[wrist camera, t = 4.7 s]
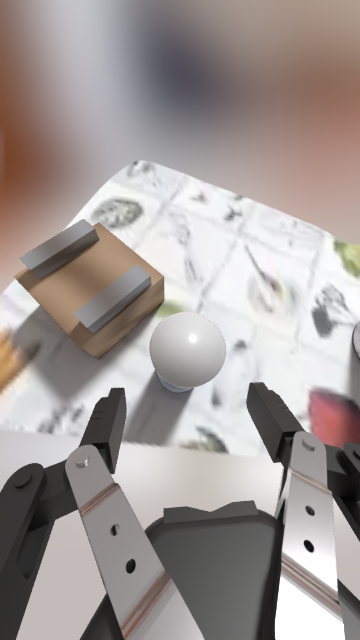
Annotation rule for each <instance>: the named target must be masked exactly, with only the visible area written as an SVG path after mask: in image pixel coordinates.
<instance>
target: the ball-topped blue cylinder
mask: <svg viewBox="0 0 360 640" xmlns="http://www.w3.org/2000/svg"><path fill="white" fill-rule="evenodd" d="M150 356H151V360H152V363H153V366H154V368H155V370H156V372H157V374H158V377H159V380H160V382H161V384H162V385H163V386H164V387H165V388H166V389H168V390H169V391H172V392H176V393H181V392H185V391H188V390H190V389H192V388H194V387H198V386H200V385H203V384H205V383H207V382H208V381H210V380H211V379H213V378H214V377H215V376H216V375H217V374H218V373H219V371H220V370H221V368H222V366H223V364H224V361H225V356H226V345H225V340H224V337H223V335H222V333H221V331H220V330H219V328H218V327H217V326H216V324H214V323H213V322H212V321H211V320H210V319H208V318H207V317H205V316H203V315H201V314H198V313H193V312H180V313H176V314H173V315H170V316H168V317H167V318H165V319H164V320H163V321H161V322H160V323H159V324H158V326H157V327H156V328H155V330H154V332H153V334H152V337H151V340H150Z"/></svg>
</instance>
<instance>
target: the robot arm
mask: <svg viewBox="0 0 360 640" xmlns="http://www.w3.org/2000/svg"><path fill="white" fill-rule="evenodd" d="M354 345H355V350H356V352H357V354H358V357H359V359H360V322H359V323H358V324H357V326H356V328H355V331H354ZM246 404H247V409H248V412H249V414H250V416H251V418H252V420H253V422H254V424H255V426H256V428H257V430H258V432H259V434H260V436H261V438H262V440H263V442H264V444H265V447H266V449H267V451H268V453H269V455H270V457H271V459H272V461H273V463H276V462H281V463H282V465H283V470H282V476H281V483H280V490H279V495H278V502H277V507H276V512H275V515H274V517H273V516H272V515H270V514H268V513H266V512H264V511H262V510H259V509H257V508H256V506H255V503H254V501H241V502H232V503H230V504H227V505H226V506H223V507H221V508H219V509H217V510H215V511H212V512H208V511H204V510H199V509H194V508H190V507H187V506H186V507H176V508H164V517H162V518H160V519H158V520H156V521H155V522H153V523H152V524H151V525H150V526H149V527H147V529H146V530H145V531H144V530H143V528H142V527H141V525H140V523H139V521H138V519H137V517H136V515H135V513H134V512H133V510H132V508H131V506H130V504H129V502H128V500H127V498H126V497H125V495H124V493H123V491H122V490H121V487H120V486H119V484H118V483H115V482H114V480H113V478H112V476H111V474H114V473H115V468H116V463H117V459H118V454H119V449H120V444H121V439H122V434H123V429H124V424H125V419H126V410H127V408H126V398H125V390H124V388H111V390H110V393H109V396H108V397H102V398H101V399H100V400H99V401H98V402H97V403H96V405H95V407H94V410H93V413H92V415H91V417H90V420H89V422H88V425H87V427H86V430H85V432H84V435H83V438H82V440H81V443H80V445H79V447H78V448H77V449H76V450H74V451H73V452H72V453H71V454H70V455H69V457H68V458H67V459H66V460H65V461H62V462H60V463H57V464H55V465H52V466H49V467H47V468H43V466H42V465H41V464H38V463H32V464H28V465H26V466H24V467H22V468H20V469H19V470H17V471H16V472H15V473H14V474H13V475H12V476H11V477H10V478H9V479H8V480H7V482H6V483H5V485H4V487H3V489H2V490H1V492H0V640H16V637H17V634H18V631H19V628H20V625H21V622H22V619H23V616H24V613H25V610H26V607H27V604H28V601H29V598H30V594H31V592H32V588H33V585H34V582H35V580H36V576H37V574H38V570H39V567H40V564H41V561H42V558H43V555H44V552H45V549H46V546H47V543H48V540H49V537H50V534H51V531H52V528H53V525H54V522H55V520H56V519H58V518H60V517H62V516H65V515H67V514H69V513H71V512H73V511H75V510H79V513H80V516H81V519H82V522H83V525H84V527H85V531H86V533H87V536H88V539H89V542H90V545H91V548H92V551H93V554H94V557H95V560H96V563H97V566H98V569H99V572H100V575H101V578H102V581H103V584H104V587H105V590H106V595H105V597H104V598H103V600H102V602H101V604H100V605H99V607H98V609H97V610H96V612H95V614H94V616H93V617H92V619H91V621H90V623H89V624H88V626H87V628H86V630H85V631H84V633H83V635H82V636H81V638H80V640H360V601H359V600H358V599H357V598H356V597H355V596H354V595H353V594H352V593H351V592H350V591H349V590H348V589H347V588H346V587H345V586H344V585H343V584H342V583H341V582H340V581H339V580H338V579H337V575H336V574H337V573H336V554H335V535H334V515H333V498H334V499H335V501H336V503H337V505H338V506H339V508H340V510H341V511H342V513H343V515H344V516H345V518H346V519H347V521H348V523H349V525H350V526H351V528H352V530H353V531H354V533H355V534H356V536H357V538H358V539H359V541H360V444H357V443H353V442H347V443H345V444H344V446H343V448H338V447H334V446H329V445H325V444H323V443H322V442H321V441H320V440H319V439H318V438H317V437H316V436H314V435H313V434H311V433H308V432H305V430H304V429H303V428H302V426H301V425H300V423H299V422H298V421H297V419H296V418H295V417H294V415H293V414H292V412H291V411H290V410H289V408H288V407H287V406H286V404H284V402H283V400H282V399H281V397H280V396H279V395H278V394H276V393H275V392H274V391H272V390H268V388H267V387H266V386H265V384H264V383H263V382H255V383H250V385H249V390H248V395H247V401H246ZM332 496H333V497H332Z"/></svg>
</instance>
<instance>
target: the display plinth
mask: <svg viewBox="0 0 360 640" xmlns="http://www.w3.org/2000/svg"><path fill="white" fill-rule="evenodd" d="M19 259H20V260H21V261H22V262H23V263H24V264H25V265H26V266H27V267H28V268H26V269H24V270H23V271H21V272H20V273H18V274H17V275H15V276H14V278H15V279H16V280H17V281H18V282H19V283H20V284H21V285H22V286H23V287H24V288H25V289H26V290H27V291H28V293H29V294H30V295H31V296H32V297H33V298H34V299H35V300H36V301H37V302H38V303H39V304H40V305H41V306H42V307H43V309H44V310H45V311H46V312H47V313H48V314H49V315H50V316H51V317H52V318H53V319H54V320H55V321H56V322H57V323H58V325H59V326H60V327H61V328H62V329H63V330H64V331H65V332H66V333H67V334H68V335H69V336H70V337H71V338H72V340H73V341H74V342H75V343H76V344H77V345H78V346H79V347H80V348H81V349H83V350H84V351H86V352H88V353H89V354H91V355H92V356H94V357H95V358H97V359H100V358H101V357H102V356H103V355H104V354H105V353H107V352H108V351H109V350H110V349H111V348H112V347H113V346H114V345H115V344H117V343H118V342H119V341H120V340H121V339H122V338H123V337H124V336H125V335H126V334H128V333H129V332H130V331H131V330H132V329H133V328H134V327H135V326H136V325H138V324H139V323H140V322H141V321H142V320H143V319H144V318H145V317H146V316H147V315H149V314H150V313H151V312H152V311H153V310H154V309H155V308H156V307H157V306H158V305H160V304H161V303H162V302H163V301H164V276H163V275H161V274H160V273H159V272H158V271H157V270H155V269H154V268H153V267H152V266H151V265H149V264H148V263H147V262H146V261H145V260H143V259H142V258H141V257H140V256H139V255H137V254H136V253H135V252H134V251H133V250H131V249H130V248H129V247H128V246H127V245H125V244H124V243H123V242H122V241H121V240H119V239H118V238H117V237H116V236H115V235H113V234H112V233H111V232H110V231H109V230H107V229H106V228H105V227H104V226H103V225H101V224H100V223H97V224H95V225H94V226H92V225H90V224H89V223H88V222H87V221H86V220H84V219H82V220H81V221H79V222H77V223H76V224H74V225H72V226H71V227H69V228H67V229H66V230H64V231H62V232H61V233H59V234H58V235H56V236H54V237H53V238H51V239H49V240H48V241H46V242H45V243H43V244H41V245H39V246H38V247H36V248H35V249H33V250H31V251H30V252H28V253H26V254H25V255H23V256H21V257H20V258H19Z"/></svg>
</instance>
